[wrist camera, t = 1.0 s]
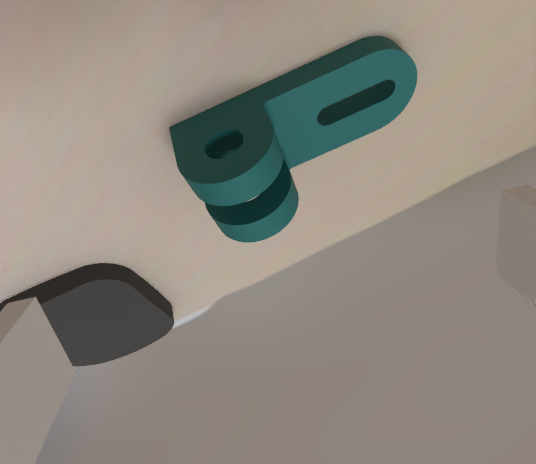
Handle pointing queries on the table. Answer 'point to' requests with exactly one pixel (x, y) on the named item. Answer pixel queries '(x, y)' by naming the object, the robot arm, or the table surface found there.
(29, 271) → the table surface
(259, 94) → the bracket
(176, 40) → the table surface
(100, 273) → the media streaming box
